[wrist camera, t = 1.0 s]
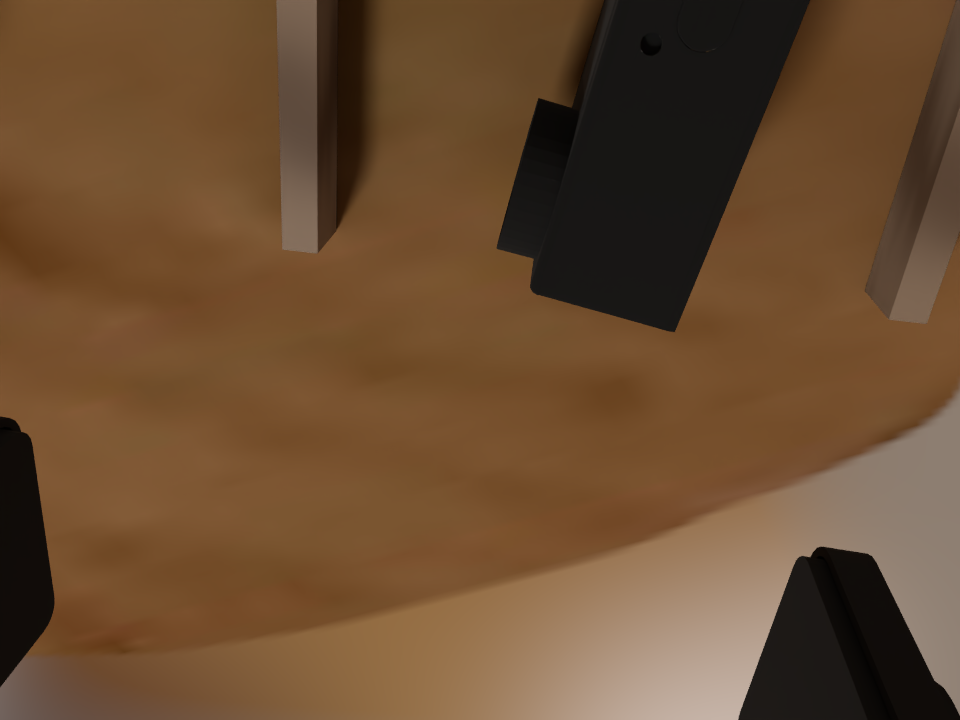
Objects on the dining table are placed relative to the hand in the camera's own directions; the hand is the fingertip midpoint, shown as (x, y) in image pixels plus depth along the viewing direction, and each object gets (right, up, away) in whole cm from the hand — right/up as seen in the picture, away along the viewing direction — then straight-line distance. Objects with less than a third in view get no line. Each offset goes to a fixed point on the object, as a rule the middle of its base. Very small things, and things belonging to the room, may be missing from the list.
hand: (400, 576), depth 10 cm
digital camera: (+6, +12, +17) cm, 22 cm away
